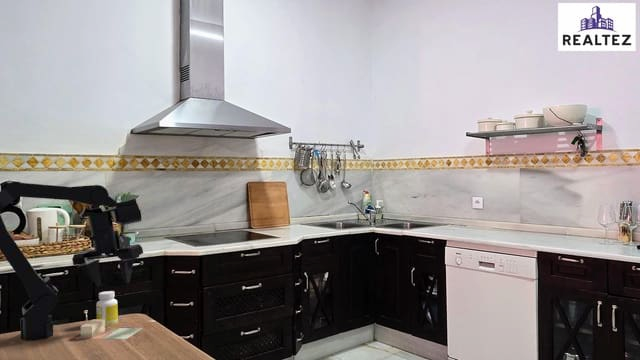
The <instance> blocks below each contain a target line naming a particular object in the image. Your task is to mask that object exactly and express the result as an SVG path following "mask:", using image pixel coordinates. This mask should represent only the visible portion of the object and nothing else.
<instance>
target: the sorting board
mask: <svg viewBox="0 0 640 360" xmlns="http://www.w3.org/2000/svg"><path fill="white" fill-rule="evenodd" d="M142 329H143V327H119V328H118V327H105V331H104V332H102V333H100V334H99V335H97V336H95V337H94V338H81V335H80V336H78V337H76V338H75V340H101V339H102V340H127V339H129V338H131V337H132V336H134V335H135V334H136V333H138V332H140V331H141V330H142Z"/></svg>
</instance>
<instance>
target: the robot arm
mask: <svg viewBox="0 0 640 360" xmlns="http://www.w3.org/2000/svg"><path fill="white" fill-rule="evenodd" d="M18 198H32V199H47V200H64V201H70V202H75V203H79V204H83V205H86V206H87V205H88V206H92V207H96V208H91V209H89V208H88V207H84V208H83V210H82V212H81V213H80V214H79V217H80V218H86V217H88V223H89V227H90V233H91V235H90V236H88V240H89V241H92V242H93V246H94V247H93V248H94V249H88V250H87V249H86V250H83V251H81V252H78V253H76V254H73V256H72V260H71V261H72V265H73V266H77V268H80V270H82V271H83V272H84V274H86V275H87V276H88V277H89V278H90V279H91V281H92V282H93V283H94V284H95V285H96V286H97V288H98V287H100V286H101V285H102V281H101V280H102V279H101V275H100V270H99V269H100V268H99V264H100V259H109V258H118V259H120V260H119V261H118V264H119V265H118V266H119V268H120V271H121V274H122V278H123V280H124V282H125V284H126V285H127V284H129V283H130V282H131V277H132V272H133V266H134V264H135V261H136V260H137V259H138V258H139V257H140V255H143V254H144V249H143V247H142V245H141V244H139V243H138V244H131V237H130V236H126V235H125V236H124V235H120V233H119V231H118V230H116V229H115V228H114V224H118V225H119V226H120V227H121V226H126V225H131V224H134V223H140V222H142V212H141V211H142V210H141V209H140V207H139V205H138V203H137V199H136V198H131V199H128V200H123V201H119V202H117V201H116V200H114V199H113V198H112V197H111V196H110V194H109V192H108V189H107V188H106V187H105V186H103V185H99V184H93V185H92V184H91V185H79V186H63V185H50V184H40V183H39V184H38V183H26V182H21V181H11V182H10V183H9V184H8V185H7V186H6V187H4V188H3V189H1V190H0V211H1V210H3V209H4V208H6V207H7V206H8V205H10V204H11V203H13V202H14V201H15V200H16V199H18ZM101 206H102V207H105V208H110V209H106V210H104V209H102V208H101ZM2 217H3V216H2V215H1V213H0V252H1V254H2V255H3V256H4V258H5V259H6V261H7V263H8V264H9V265H10V266H11V268H12V269H13V270H14V272H15V273H16V275H17V276H18V278H19V279H20V281H21V282H22V283H23V287H24V288H25V291H26V292H27V296H28V297H29V300H28V301H27V303H25V304H24V305H23V306H22V308H21V310H22V316H23V317H22V318H20V320H19V321H20V322H19V323H20V340H23V341H26V342H31V341H32V342H33V341H39V340H46V339H50V338H51V337H53V336H54V322H53V321H52V314H51V312H52V311H53V310H54V309H56V307H57V306H58V305H59V304H58V303H59V296H58V294H59V293H60V292H59V290H58V288H57V287H56V286H54V284H52V281H51V278H50V277H49V276H48V275H47V276H45V278H42V277H41V276H40V275H39V274H38V272H36V270H35V269H34V267H33V266H32V264H31V262H30V261H29V259H27V257H26V256H25V254H24V252H23V251H22V250H21V249H20V247H19V244H17V242H16V241H15V239H14V238H13V236H12V235H11V234H10V232H9V231H8V229H7V227H6V224H5V221H4V219H3V218H2ZM113 222H114V223H113Z"/></svg>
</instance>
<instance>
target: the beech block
mask: <svg viewBox="0 0 640 360" xmlns="http://www.w3.org/2000/svg"><path fill="white" fill-rule="evenodd" d="M105 328H106V326H105V320H97V319H91V320H90V321H88V322H86V323H85V324H82V325H80V336H81V338H94V337H95V336H97V335H99V334H100V333H102V332H104V331H105Z"/></svg>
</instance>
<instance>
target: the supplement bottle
mask: <svg viewBox="0 0 640 360" xmlns="http://www.w3.org/2000/svg"><path fill="white" fill-rule="evenodd" d="M98 299H99V300H98V301H97V302H96V320H105V327H109V326H115V325H116V324H118V323H119V312H118V309H119V308H118V306H119V305H118V300H117V299H115V290H109V291H108V290H107V291H102V292H99V293H98Z"/></svg>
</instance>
